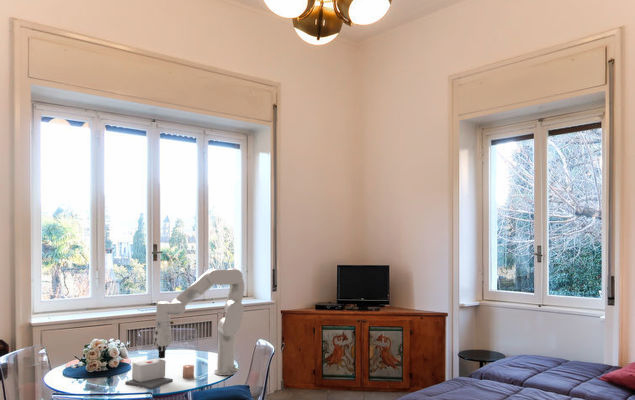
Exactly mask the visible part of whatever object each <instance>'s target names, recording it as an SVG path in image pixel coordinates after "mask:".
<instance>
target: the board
mask: <svg viewBox="0 0 635 400" xmlns="http://www.w3.org/2000/svg"><path fill="white" fill-rule="evenodd" d="M171 382H173V378H169V377H162V378H157V379H153V380H148V381H143V382H139V381H136V380H134V379H132V378H131V379H130V380H127V381H125V385H128V386H133V387H138V386H139V388H143V387H144V389H148V390H152V389H155V388H158V387H160V386H163V385H166V384H168V383H171Z"/></svg>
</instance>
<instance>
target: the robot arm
mask: <svg viewBox="0 0 635 400" xmlns="http://www.w3.org/2000/svg"><path fill="white" fill-rule="evenodd" d="M243 277H244V276H243V273H242V271H240V270H239V269H237V268H235V267H229V268H227V269H217V268H213V267H212V268H209V269H208V270H206V271H205V272H204V273H202V275H201V276H200V277H199V278H198V279H196V281H194V282H193V283H192V284H191V285H189V286H188V287H187V288H186V289H184V290H183V291H182V292H181V293H179V294H178V295H177V296H176V297H175V298H174V299H173V300H171V302H170V301H162V300H161V301H158V302H157V303H156V311H155V313H156V315H155V328H154V331H153V346H154V349H156V350H157V351H158V359H161V360H164V359H165V357H166V351H167V348H168V346H170V345H171V344H172V342H173V341H172V339H173V333H172V326H171V316H181V315H183V314H184V313H185V312H186V306H187V305H188V304H190V303H191V302H192V301H193V300H196V299H199V298H200V297H202V296H203V295H205V294H206V293H207V291H208V290H210V289H211V288H212V287H213V286H214V285H216V286H217V285H218V286H219V285H220V286H222V285H224V286H225V285H227V286H228V285H229V289H228V290H229V291H228V294H227V298H226V300H225V301H226V302H225V305H224V307H223V308H224V311H225V313H226V314H225V316H224V317H222V318H221V319H219V321H218V323H217V361H216V363H217V364H216V367H217V368H216V369H215V370H214V374H215V375H217V376H221V375H228V376H232V375H236V374H237V373H239V371H240V368H239V367H236V366H237V365H236V364H235V347H236V344H235V342H236V337H235V336H236V335H237V334H238V333H239V330H240V327H241V324H242V321H243V316H244V313H245V306H244V305H243V303H242V302H243V301H242V300H243V298H244V293H245V281H244V279H243Z"/></svg>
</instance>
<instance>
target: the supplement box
mask: <svg viewBox="0 0 635 400" xmlns="http://www.w3.org/2000/svg"><path fill="white" fill-rule="evenodd" d="M131 370H132V371H131V372H132V374H131V375H132V376H131V380H132V379H134V380H136V381H139V382H143V381H148V380H153V379H157V378H162V377H164V378H166V360H164V359H162V358H159V357H158V358H157V357H155V358H152V359H146V360H145V359H144V360H140V361H136V362H134V361H133V362H132V369H131Z"/></svg>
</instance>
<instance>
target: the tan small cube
mask: <svg viewBox="0 0 635 400" xmlns="http://www.w3.org/2000/svg"><path fill="white" fill-rule="evenodd" d="M182 378H183V379H186V380H188V379H193V378H195V365H194V364H185V365H182Z"/></svg>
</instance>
